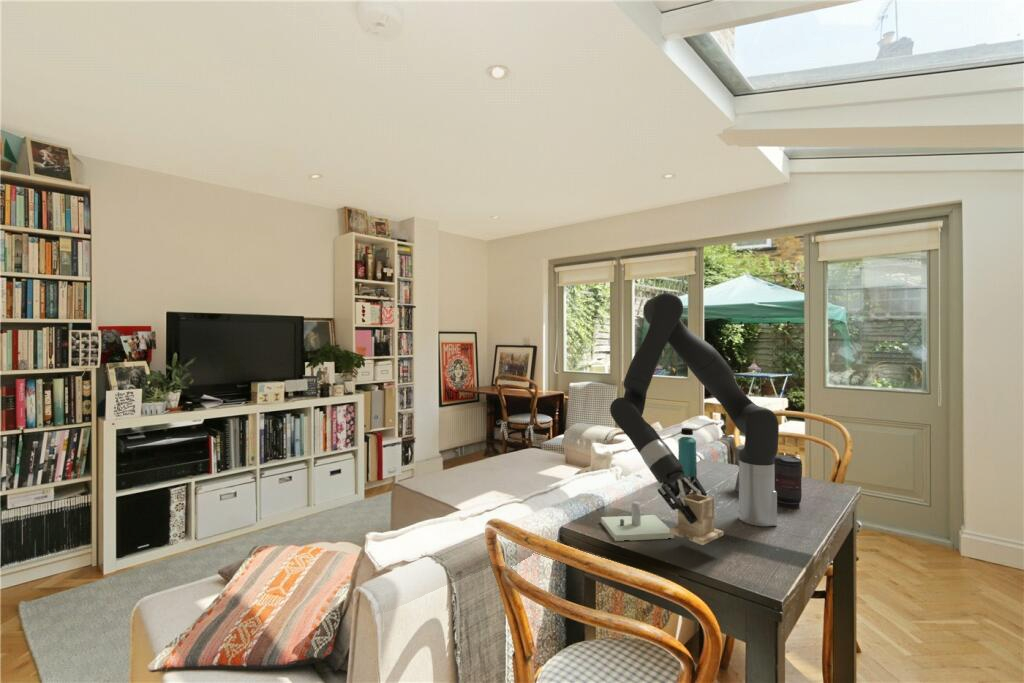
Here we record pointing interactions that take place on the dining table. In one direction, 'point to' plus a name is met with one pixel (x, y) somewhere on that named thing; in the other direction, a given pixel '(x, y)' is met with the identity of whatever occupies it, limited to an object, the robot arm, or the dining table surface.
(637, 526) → the post plate
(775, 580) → the dining table surface
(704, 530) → the flange collar
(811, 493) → the dining table surface
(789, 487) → the camera lens
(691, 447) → the beverage bottle
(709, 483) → the dining table surface
